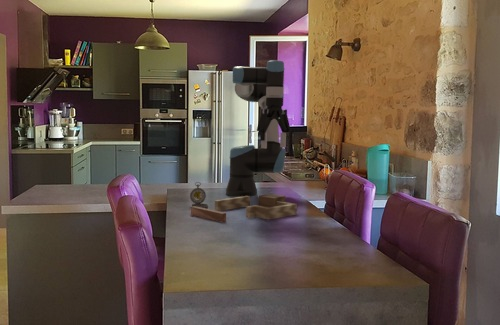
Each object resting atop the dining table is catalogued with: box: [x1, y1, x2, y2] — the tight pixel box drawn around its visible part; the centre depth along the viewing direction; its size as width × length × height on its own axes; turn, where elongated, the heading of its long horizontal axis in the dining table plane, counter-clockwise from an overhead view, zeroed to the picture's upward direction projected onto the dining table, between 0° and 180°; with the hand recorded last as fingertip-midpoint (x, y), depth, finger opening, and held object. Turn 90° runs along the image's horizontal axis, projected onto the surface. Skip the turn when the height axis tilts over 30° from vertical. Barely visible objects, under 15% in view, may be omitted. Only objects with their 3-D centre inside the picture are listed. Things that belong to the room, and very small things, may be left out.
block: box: [257, 193, 286, 208], centre depth 226 cm, size 8×8×5 cm
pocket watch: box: [189, 181, 209, 209], centre depth 223 cm, size 8×8×10 cm
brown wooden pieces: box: [190, 196, 298, 223], centre depth 209 cm, size 32×27×4 cm
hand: (273, 147), depth 234 cm, fingers open, 11 cm apart
